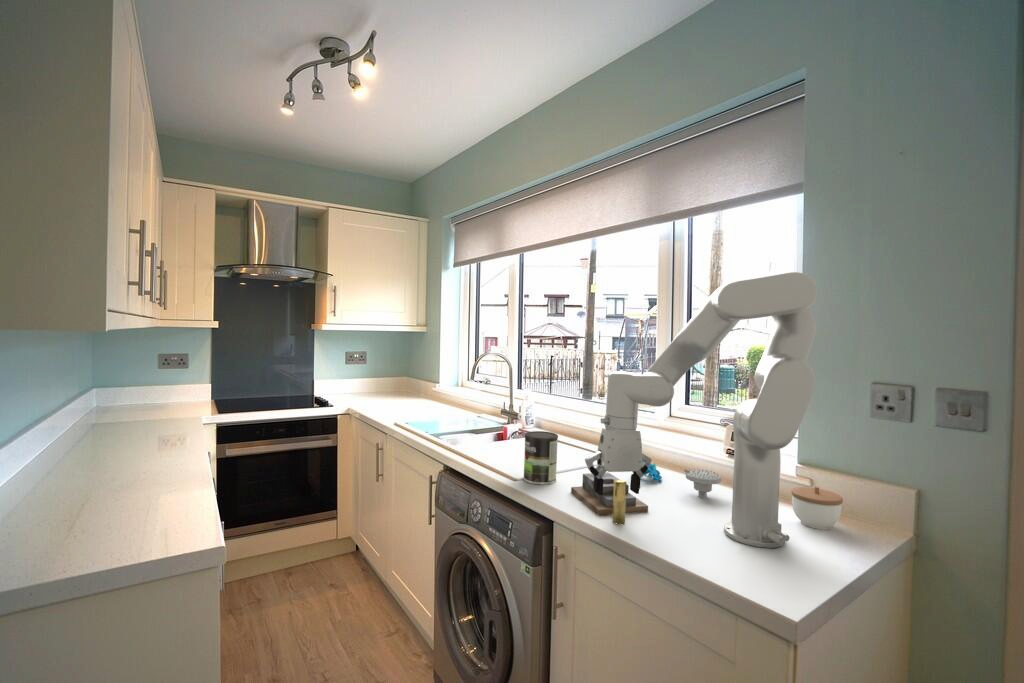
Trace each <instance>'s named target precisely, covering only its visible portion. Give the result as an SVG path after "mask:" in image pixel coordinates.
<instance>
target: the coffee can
mask: <svg viewBox="0 0 1024 683" xmlns="http://www.w3.org/2000/svg"><path fill="white" fill-rule="evenodd" d="M558 438H559V435H558V434H557V433H555V432H549V431H540V430H533V431H528V432H526V433H524V460H523V461H524V462H523V463H524V464H523V478H524V479H523V481H524V480H525V481H524V482H526V483H527V484H533V485H542V486H543V485H551V484H555V483H556V482H557V462H558V440H559V439H558Z"/></svg>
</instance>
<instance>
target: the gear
mask: <svg viewBox="0 0 1024 683" xmlns="http://www.w3.org/2000/svg"><path fill="white" fill-rule="evenodd" d="M642 463H643V460H642ZM660 474H661V472H660V471H659V470H658V469H657V465H656V463H652V462H651V463H650V465H649V466H648V469H647V471H646V472H645V473H644V474H643V476H647V475H648V477H649V478H652V480H654V481H655V482H657V483H658V482H659V483H660V482H662V479H663V477H662V476H661V475H660Z"/></svg>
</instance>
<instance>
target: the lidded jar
mask: <svg viewBox="0 0 1024 683" xmlns="http://www.w3.org/2000/svg"><path fill="white" fill-rule="evenodd" d="M843 500H844V499H843V496H841V495H840V494H838V493H836V492H833V491H829V490H827V489H824V488H820V487H819V486H814V487H810V486H798V487H793V488H792V489H791V503H792V504H791V506H792V510H793V513H794V514H795V516H796V518H798V521H799V520H800V523H801V524H802V525H804V526H806V527H807V528H812V529H815V530H823V529H825V530H830V529H831V527H833V526H834V525H835V524H836V523H838V521H839V520H840V518H841V513H842V507H843V505H842V504H843V502H844V501H843ZM829 528H830V529H829Z"/></svg>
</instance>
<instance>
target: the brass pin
mask: <svg viewBox="0 0 1024 683" xmlns="http://www.w3.org/2000/svg"><path fill="white" fill-rule="evenodd" d="M626 484H627V481H626V480H624V479H620V480H614V489H613V514H612V523H613V524H614V523H617V524H623V525H625V524H626V513H625V509H626ZM624 523H625V524H624ZM617 524H616V525H617Z"/></svg>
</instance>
